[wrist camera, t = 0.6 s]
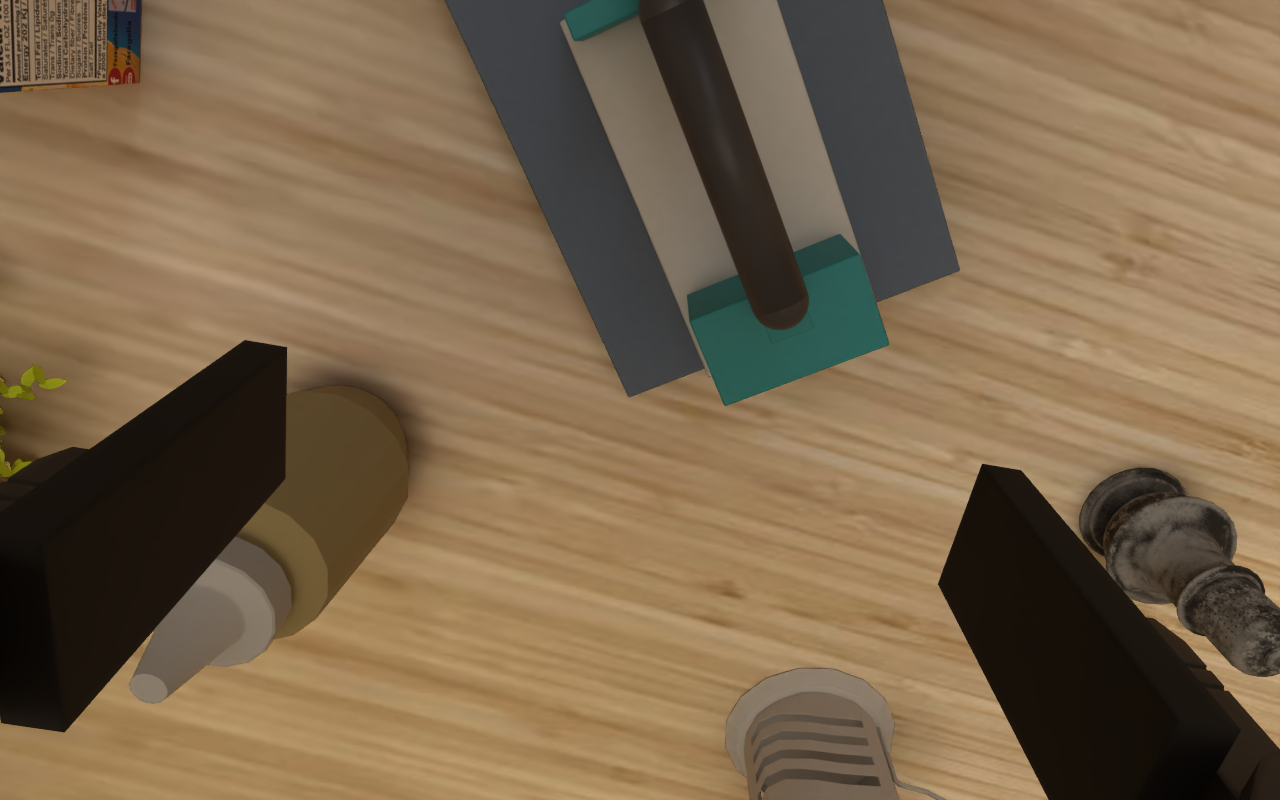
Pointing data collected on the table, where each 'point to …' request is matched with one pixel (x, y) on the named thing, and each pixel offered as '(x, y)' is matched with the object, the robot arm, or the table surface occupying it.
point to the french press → (814, 739)
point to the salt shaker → (1183, 564)
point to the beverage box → (68, 43)
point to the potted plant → (17, 391)
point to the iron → (730, 183)
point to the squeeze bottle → (289, 540)
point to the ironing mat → (605, 209)
